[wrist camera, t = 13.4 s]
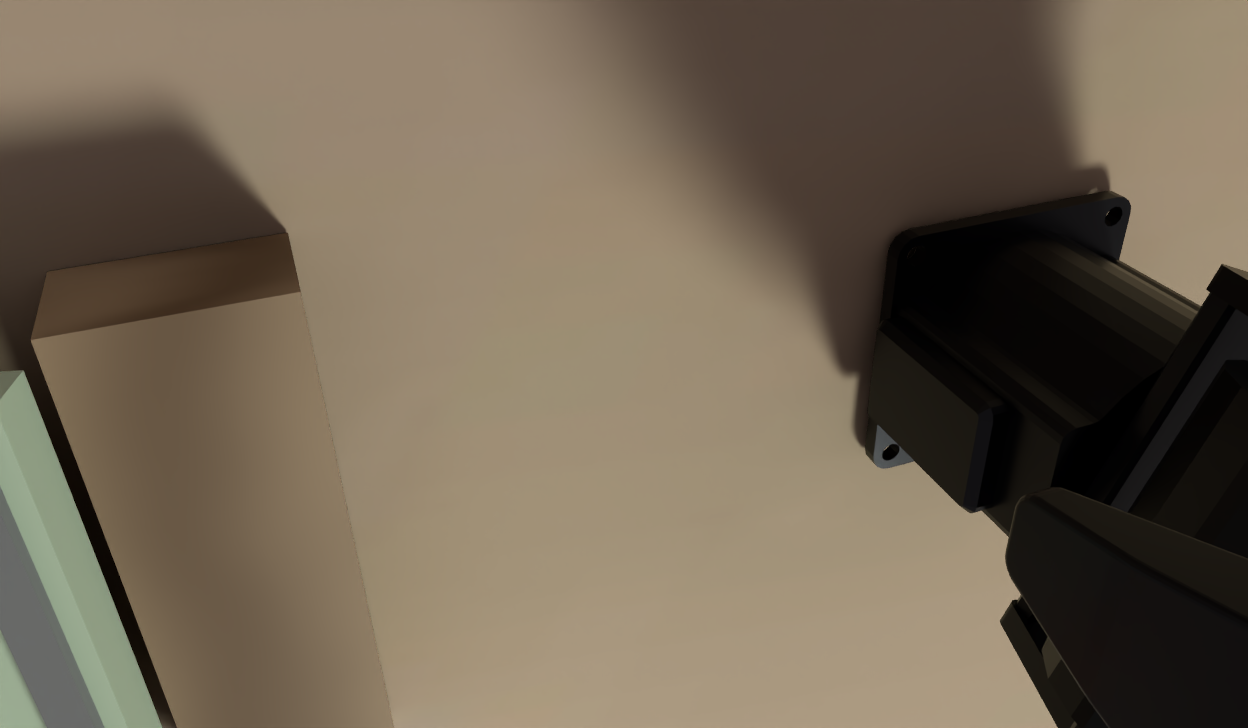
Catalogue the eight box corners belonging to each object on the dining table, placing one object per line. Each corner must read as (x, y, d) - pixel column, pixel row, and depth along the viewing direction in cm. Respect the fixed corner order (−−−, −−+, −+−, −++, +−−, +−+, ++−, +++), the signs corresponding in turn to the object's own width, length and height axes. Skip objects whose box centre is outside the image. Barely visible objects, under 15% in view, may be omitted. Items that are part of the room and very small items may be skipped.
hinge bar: (287, 232, 19) (300, 291, 17) (391, 715, 26) (409, 797, 24) (47, 271, 18) (30, 340, 16) (222, 764, 25) (225, 856, 23)
